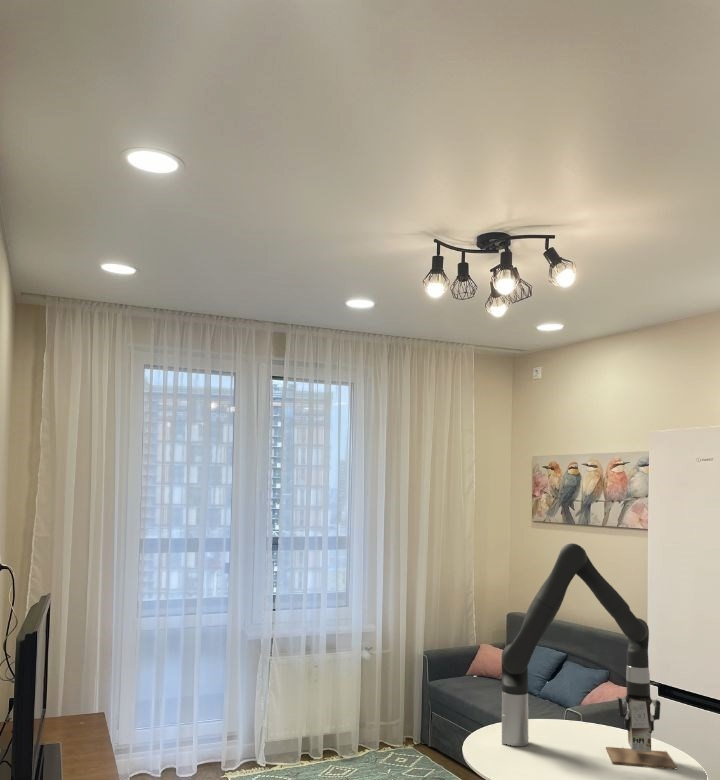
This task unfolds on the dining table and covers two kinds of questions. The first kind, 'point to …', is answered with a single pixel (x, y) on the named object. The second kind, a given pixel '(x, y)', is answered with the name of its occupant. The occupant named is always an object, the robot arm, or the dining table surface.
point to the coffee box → (639, 724)
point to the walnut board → (640, 758)
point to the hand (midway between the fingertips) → (639, 731)
